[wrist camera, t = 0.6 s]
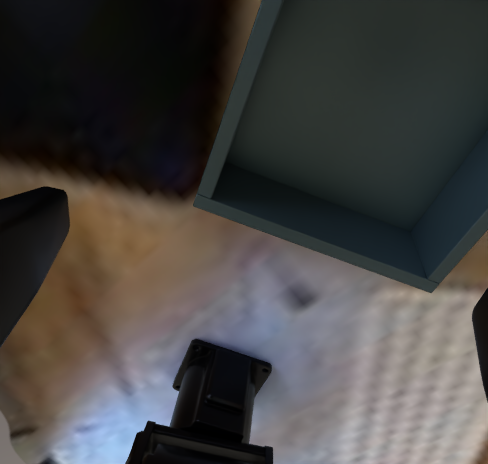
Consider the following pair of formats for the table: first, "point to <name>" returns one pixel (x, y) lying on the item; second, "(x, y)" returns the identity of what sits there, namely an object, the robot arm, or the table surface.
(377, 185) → the basin
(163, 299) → the table surface
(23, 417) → the table surface
